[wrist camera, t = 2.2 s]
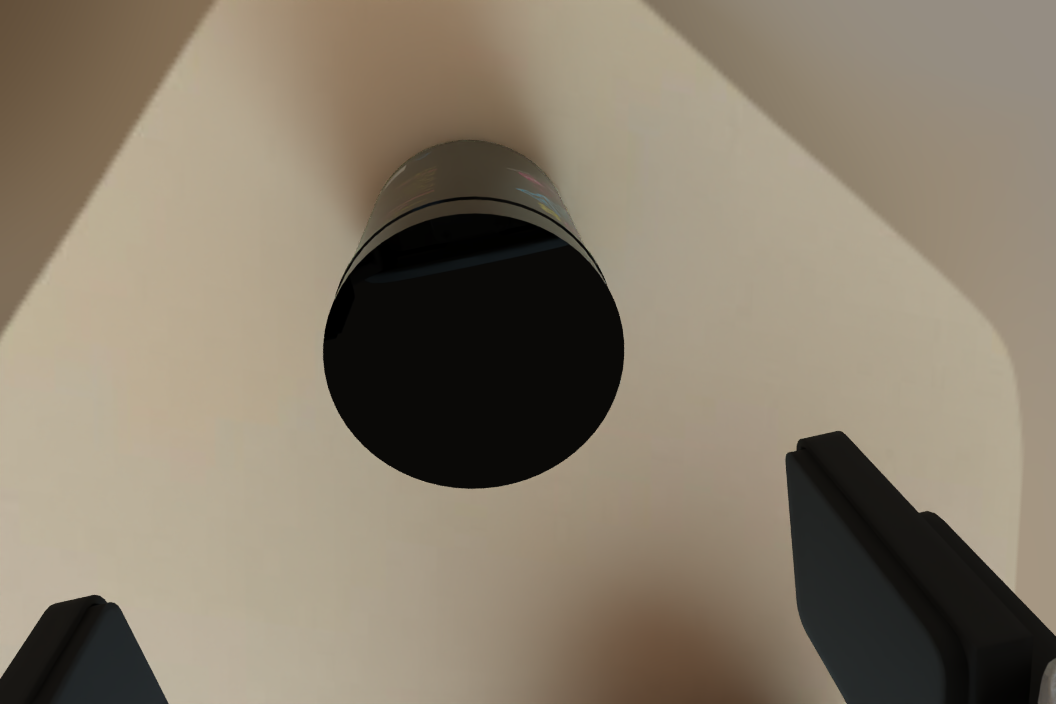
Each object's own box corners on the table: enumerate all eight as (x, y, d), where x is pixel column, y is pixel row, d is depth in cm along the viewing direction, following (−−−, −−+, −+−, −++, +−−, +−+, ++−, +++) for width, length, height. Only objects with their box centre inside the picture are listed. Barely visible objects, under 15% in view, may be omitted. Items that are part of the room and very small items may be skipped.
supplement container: (515, 357, 30) (541, 527, 20) (338, 281, 28) (276, 428, 19) (604, 190, 28) (681, 291, 18) (418, 98, 26) (394, 156, 16)
